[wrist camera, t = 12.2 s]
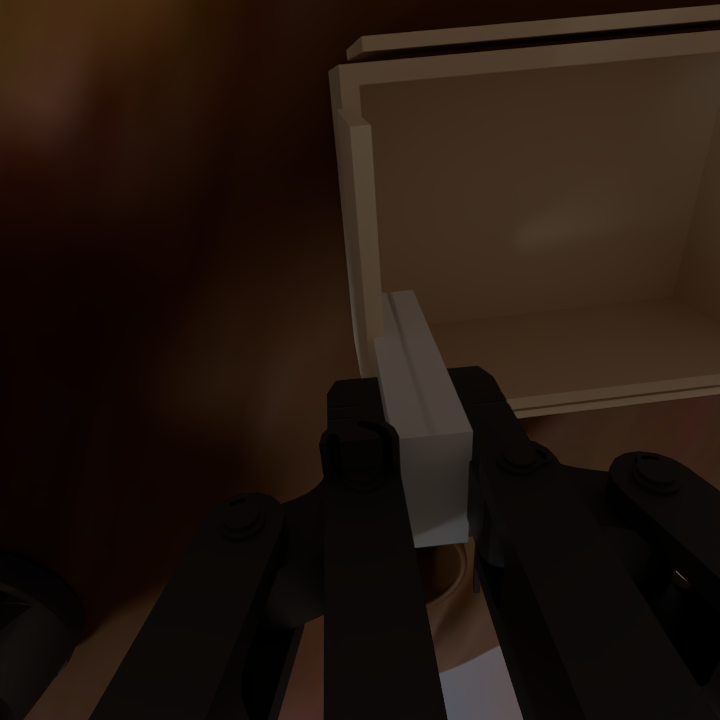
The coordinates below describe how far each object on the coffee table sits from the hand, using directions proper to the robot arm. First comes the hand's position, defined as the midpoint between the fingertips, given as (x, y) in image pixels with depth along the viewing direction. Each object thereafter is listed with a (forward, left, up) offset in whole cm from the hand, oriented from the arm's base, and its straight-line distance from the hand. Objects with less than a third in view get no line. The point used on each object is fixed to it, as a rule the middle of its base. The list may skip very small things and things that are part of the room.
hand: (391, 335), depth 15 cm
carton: (+9, 0, -14) cm, 17 cm away
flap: (0, 0, -1) cm, 1 cm away
